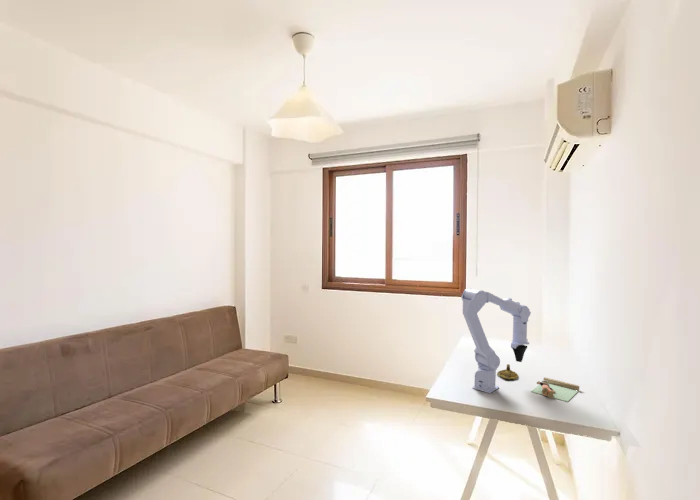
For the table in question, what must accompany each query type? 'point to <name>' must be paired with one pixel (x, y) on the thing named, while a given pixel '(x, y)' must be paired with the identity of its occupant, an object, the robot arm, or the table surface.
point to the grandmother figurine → (546, 389)
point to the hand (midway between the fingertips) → (518, 361)
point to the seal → (507, 374)
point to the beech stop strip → (562, 384)
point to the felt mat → (557, 392)
